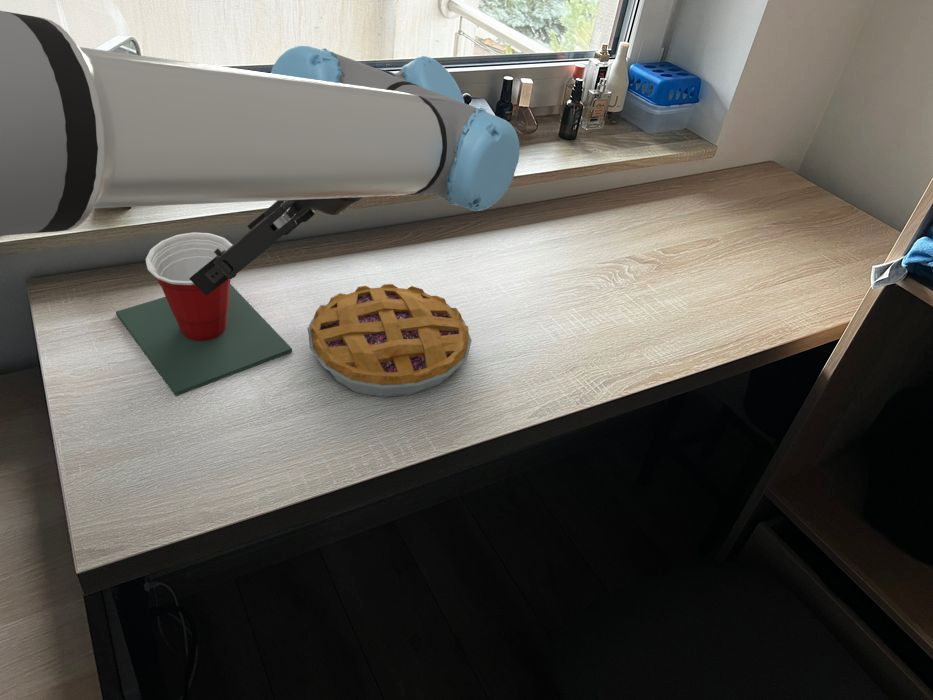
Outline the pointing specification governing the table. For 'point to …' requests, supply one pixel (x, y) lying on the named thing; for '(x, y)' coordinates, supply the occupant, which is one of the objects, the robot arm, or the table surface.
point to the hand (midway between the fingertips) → (229, 257)
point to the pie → (389, 340)
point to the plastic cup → (191, 283)
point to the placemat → (202, 343)
